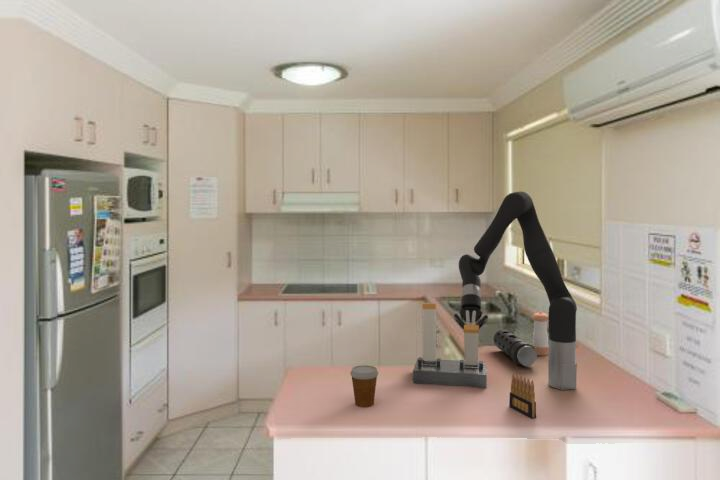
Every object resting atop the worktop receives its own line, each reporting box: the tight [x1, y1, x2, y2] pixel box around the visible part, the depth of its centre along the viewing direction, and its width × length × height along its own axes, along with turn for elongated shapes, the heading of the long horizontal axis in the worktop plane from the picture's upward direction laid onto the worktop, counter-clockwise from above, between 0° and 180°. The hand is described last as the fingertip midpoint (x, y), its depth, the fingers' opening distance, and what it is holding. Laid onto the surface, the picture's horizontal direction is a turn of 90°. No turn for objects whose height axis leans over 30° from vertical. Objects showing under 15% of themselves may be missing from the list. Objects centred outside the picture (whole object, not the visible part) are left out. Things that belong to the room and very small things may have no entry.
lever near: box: [463, 324, 480, 367], centre depth 190 cm, size 2×5×24 cm
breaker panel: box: [412, 356, 488, 389], centre depth 199 cm, size 16×27×7 cm, turn 77°
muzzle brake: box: [493, 329, 538, 367], centre depth 223 cm, size 10×28×10 cm, turn 5°
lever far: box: [422, 302, 437, 365], centre depth 200 cm, size 2×5×24 cm, turn 77°
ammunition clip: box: [508, 371, 537, 420], centre depth 166 cm, size 11×2×12 cm, turn 23°
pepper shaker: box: [531, 310, 549, 356], centre depth 232 cm, size 7×7×19 cm
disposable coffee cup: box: [350, 364, 379, 408], centre depth 174 cm, size 10×10×12 cm
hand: (470, 338), depth 188 cm, fingers closed
